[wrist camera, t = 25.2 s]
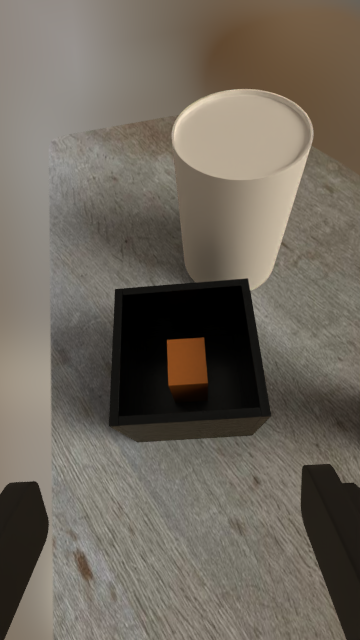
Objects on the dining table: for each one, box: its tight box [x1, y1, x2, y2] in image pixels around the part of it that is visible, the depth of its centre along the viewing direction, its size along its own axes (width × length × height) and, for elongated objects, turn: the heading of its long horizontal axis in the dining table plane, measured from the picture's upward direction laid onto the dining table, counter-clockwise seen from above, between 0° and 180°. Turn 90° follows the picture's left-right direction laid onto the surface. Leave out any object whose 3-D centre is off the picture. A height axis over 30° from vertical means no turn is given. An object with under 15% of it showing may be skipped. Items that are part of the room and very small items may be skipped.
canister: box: [172, 89, 313, 291], centre depth 41 cm, size 14×14×20 cm
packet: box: [167, 337, 208, 403], centre depth 37 cm, size 4×5×8 cm
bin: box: [109, 278, 271, 442], centre depth 36 cm, size 14×14×13 cm
